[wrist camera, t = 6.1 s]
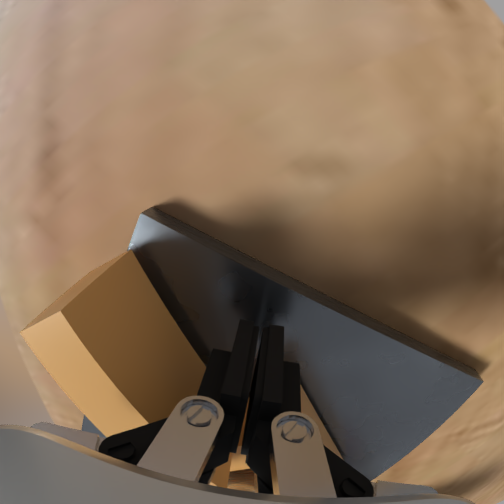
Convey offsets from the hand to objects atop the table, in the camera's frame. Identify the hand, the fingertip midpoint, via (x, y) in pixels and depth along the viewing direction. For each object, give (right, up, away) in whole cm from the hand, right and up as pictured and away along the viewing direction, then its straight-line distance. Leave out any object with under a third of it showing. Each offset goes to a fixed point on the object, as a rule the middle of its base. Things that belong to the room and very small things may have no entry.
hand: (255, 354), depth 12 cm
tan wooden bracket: (-2, -4, +3) cm, 5 cm away
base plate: (0, -7, +5) cm, 9 cm away
